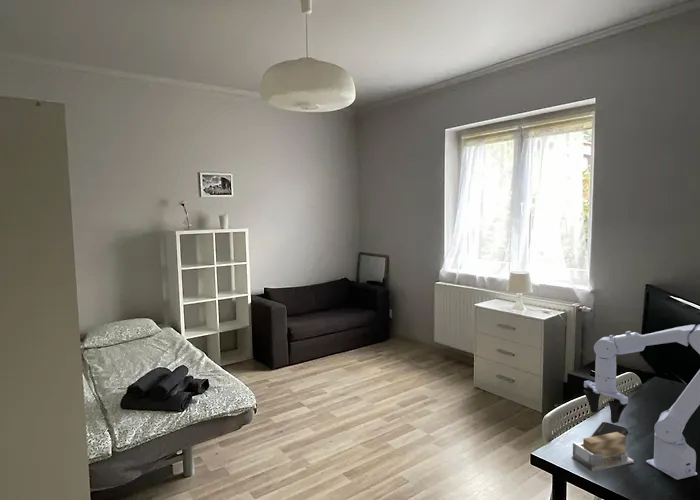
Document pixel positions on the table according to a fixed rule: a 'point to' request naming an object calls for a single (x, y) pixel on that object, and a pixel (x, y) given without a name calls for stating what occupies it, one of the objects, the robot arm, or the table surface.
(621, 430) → the phone
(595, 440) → the oak rail
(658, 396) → the table surface
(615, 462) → the bracket board
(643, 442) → the table surface
